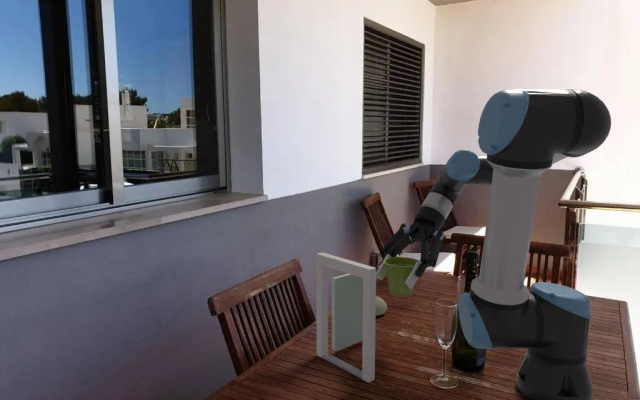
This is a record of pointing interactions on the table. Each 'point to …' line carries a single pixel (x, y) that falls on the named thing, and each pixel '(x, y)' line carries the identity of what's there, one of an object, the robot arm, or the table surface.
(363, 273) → the door frame
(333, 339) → the door
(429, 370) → the table surface
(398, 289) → the plant pot
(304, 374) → the table surface
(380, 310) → the sea urchin shell
